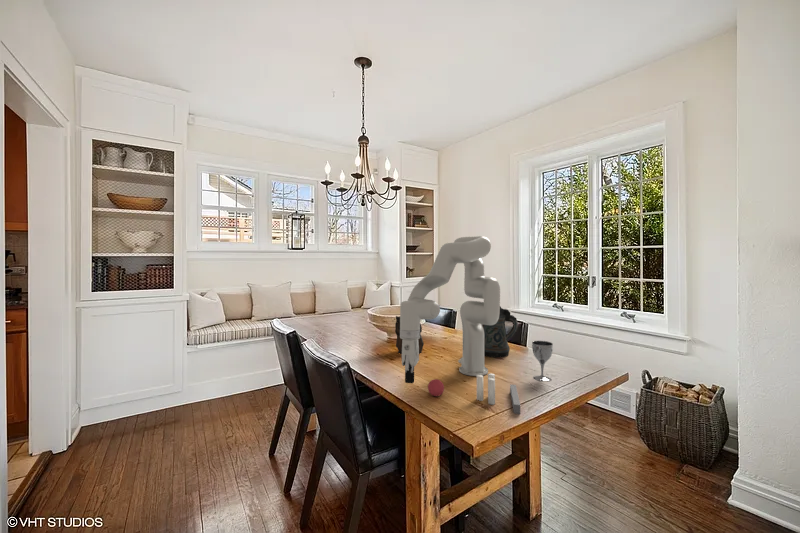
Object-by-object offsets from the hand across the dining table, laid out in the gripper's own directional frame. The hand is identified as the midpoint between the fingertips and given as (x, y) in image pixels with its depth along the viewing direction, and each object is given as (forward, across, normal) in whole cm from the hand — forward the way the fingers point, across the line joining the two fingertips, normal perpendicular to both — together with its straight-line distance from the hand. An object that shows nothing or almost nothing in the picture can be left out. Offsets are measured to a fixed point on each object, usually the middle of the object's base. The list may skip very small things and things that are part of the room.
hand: (409, 382), depth 133 cm
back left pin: (+4, +3, -30) cm, 30 cm away
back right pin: (+4, -2, -30) cm, 30 cm away
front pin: (+4, +1, -26) cm, 26 cm away
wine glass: (+3, +28, -51) cm, 58 cm away
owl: (+4, +56, +11) cm, 57 cm away
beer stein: (+3, +62, -33) cm, 71 cm away
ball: (+1, 0, -10) cm, 10 cm away
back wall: (+4, +1, -38) cm, 38 cm away
